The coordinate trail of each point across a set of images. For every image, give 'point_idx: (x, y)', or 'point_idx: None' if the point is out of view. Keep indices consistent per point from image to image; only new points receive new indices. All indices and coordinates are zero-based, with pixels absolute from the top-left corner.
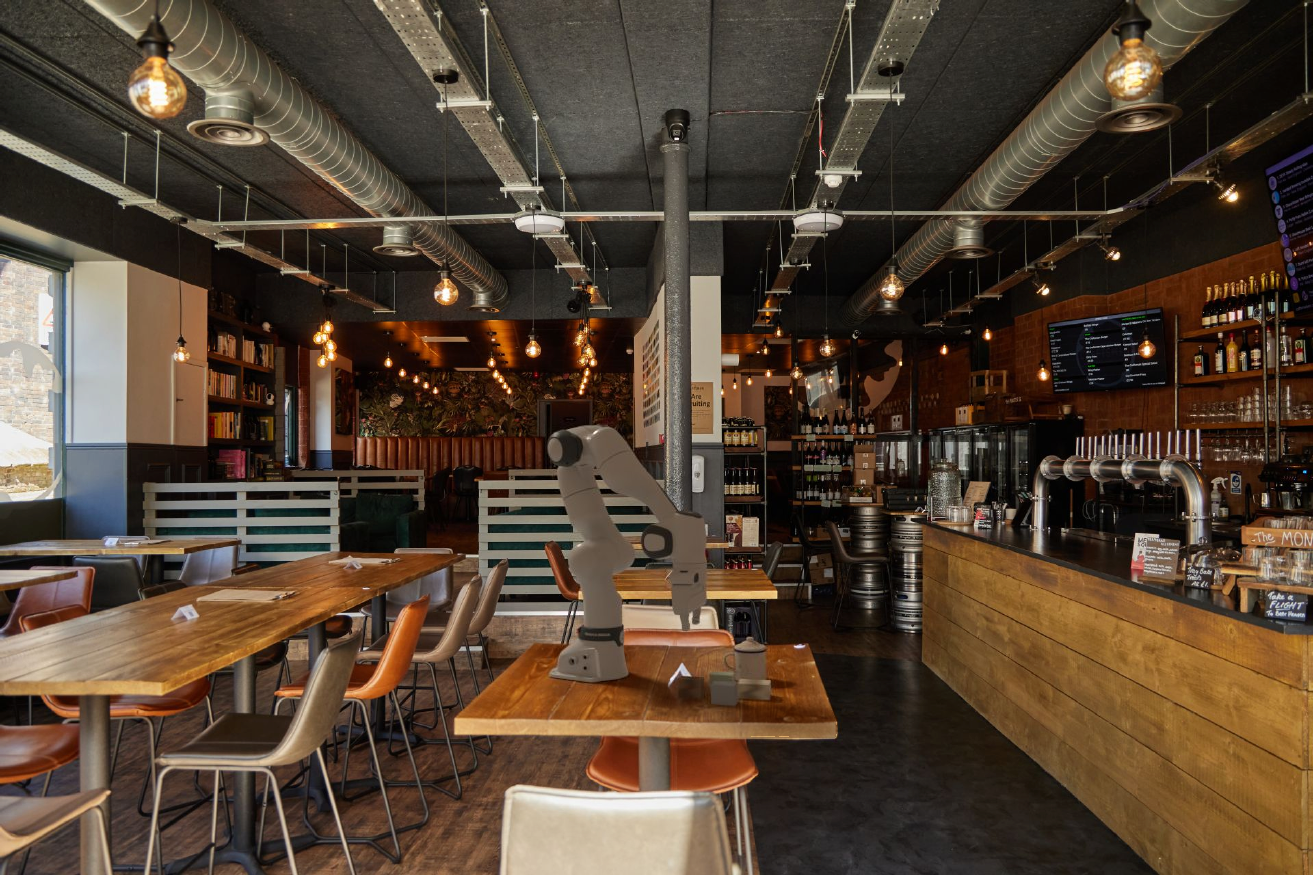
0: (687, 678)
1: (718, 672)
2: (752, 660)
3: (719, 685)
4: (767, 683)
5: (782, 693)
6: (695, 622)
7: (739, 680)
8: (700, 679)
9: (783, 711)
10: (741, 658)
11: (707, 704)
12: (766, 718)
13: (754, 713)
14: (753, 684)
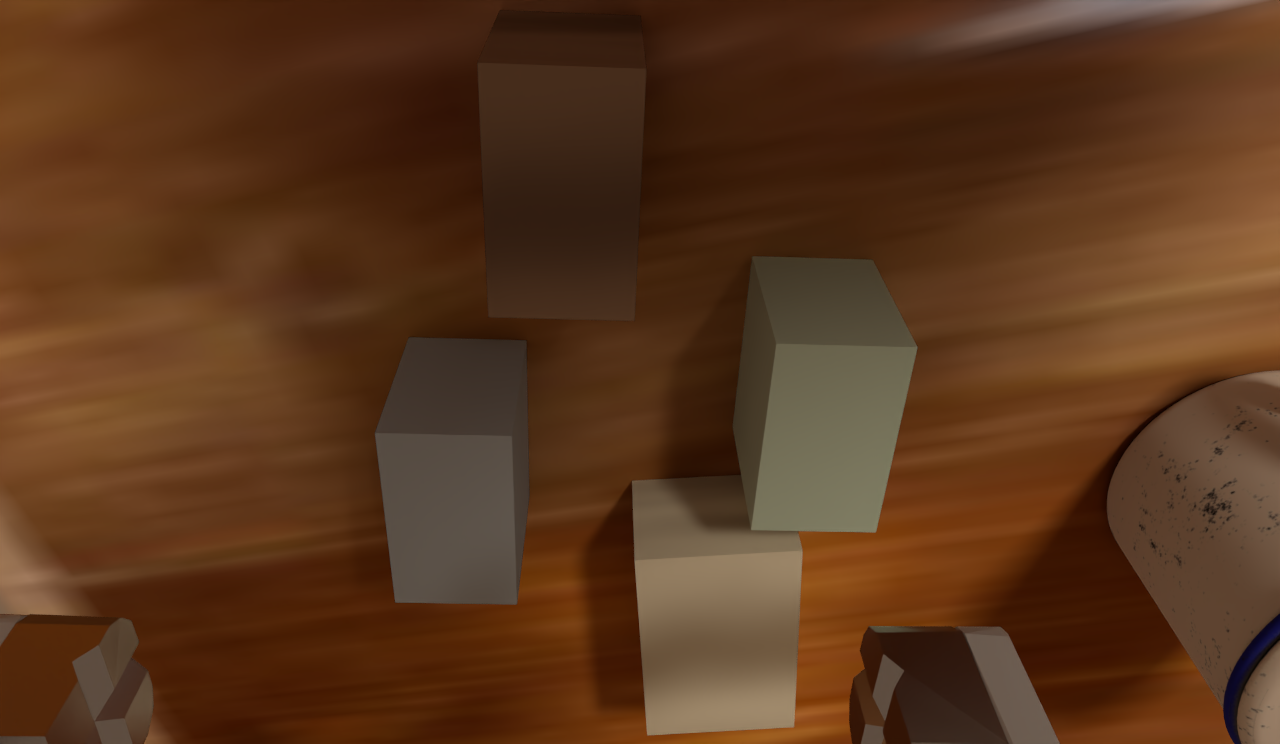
0: (529, 167)
1: (865, 407)
2: (1194, 644)
3: (382, 495)
4: (687, 722)
5: (825, 690)
6: (874, 705)
7: (747, 554)
8: (526, 308)
9: (404, 736)
10: (1241, 574)
11: (383, 312)
12: (215, 685)
13: (290, 620)
14: (642, 652)
